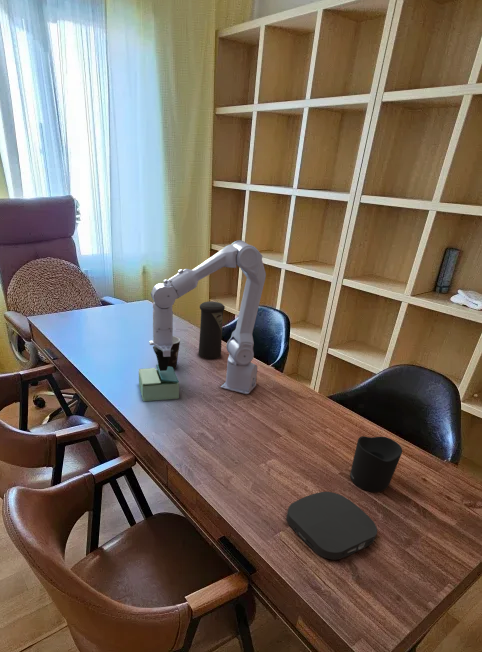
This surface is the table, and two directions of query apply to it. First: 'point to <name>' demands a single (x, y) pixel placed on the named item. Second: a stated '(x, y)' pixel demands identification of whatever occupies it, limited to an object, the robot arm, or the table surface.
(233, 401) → the table surface
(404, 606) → the table surface
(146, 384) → the box
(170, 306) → the robot arm
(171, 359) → the coffee mug
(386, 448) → the pen holder
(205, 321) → the container
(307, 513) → the media streaming box
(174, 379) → the lid
